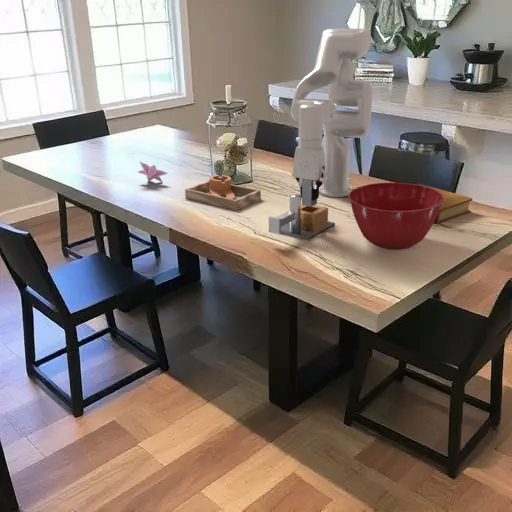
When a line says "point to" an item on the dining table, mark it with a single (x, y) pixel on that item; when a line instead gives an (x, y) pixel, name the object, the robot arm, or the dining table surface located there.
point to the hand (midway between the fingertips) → (309, 197)
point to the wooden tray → (247, 193)
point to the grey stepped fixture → (301, 220)
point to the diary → (451, 205)
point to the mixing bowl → (395, 213)
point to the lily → (151, 172)
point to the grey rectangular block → (307, 193)
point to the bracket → (221, 186)
